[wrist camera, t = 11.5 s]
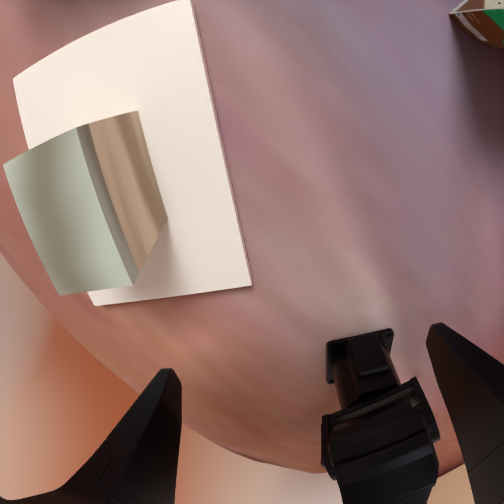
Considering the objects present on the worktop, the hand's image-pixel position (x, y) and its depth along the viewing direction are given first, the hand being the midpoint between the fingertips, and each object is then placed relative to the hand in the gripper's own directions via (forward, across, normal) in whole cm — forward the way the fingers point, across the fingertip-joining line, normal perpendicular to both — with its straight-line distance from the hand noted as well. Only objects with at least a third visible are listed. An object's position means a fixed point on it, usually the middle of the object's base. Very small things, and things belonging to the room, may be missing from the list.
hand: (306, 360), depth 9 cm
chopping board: (+12, +9, -5) cm, 16 cm away
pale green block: (+11, +9, -5) cm, 15 cm away
